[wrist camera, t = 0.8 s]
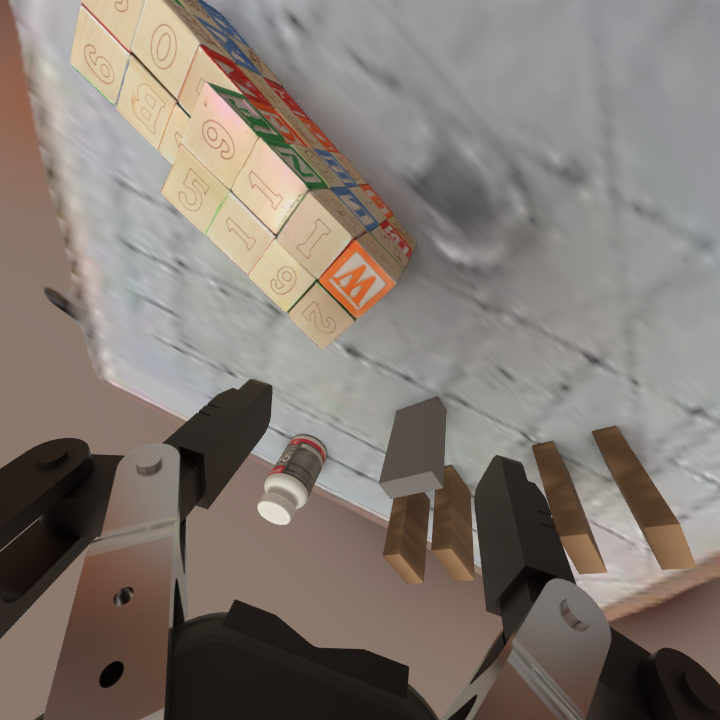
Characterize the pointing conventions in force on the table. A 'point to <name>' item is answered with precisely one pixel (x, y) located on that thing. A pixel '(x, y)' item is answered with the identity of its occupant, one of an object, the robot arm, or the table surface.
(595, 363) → the table surface
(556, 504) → the walnut domino
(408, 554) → the walnut domino
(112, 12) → the stack of blocks
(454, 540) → the walnut domino
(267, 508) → the pill bottle
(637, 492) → the walnut domino
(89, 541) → the robot arm
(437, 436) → the charcoal domino
